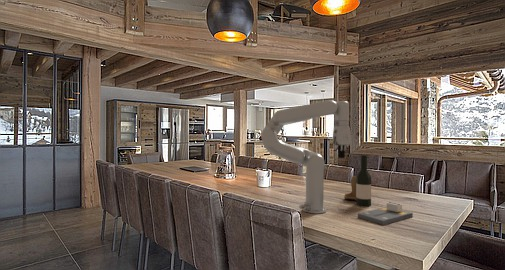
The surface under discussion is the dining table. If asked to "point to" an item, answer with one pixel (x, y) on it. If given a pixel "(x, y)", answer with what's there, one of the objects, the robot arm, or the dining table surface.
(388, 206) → the fader knob
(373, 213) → the fader console
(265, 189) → the dining table surface
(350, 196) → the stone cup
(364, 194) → the wine bottle
